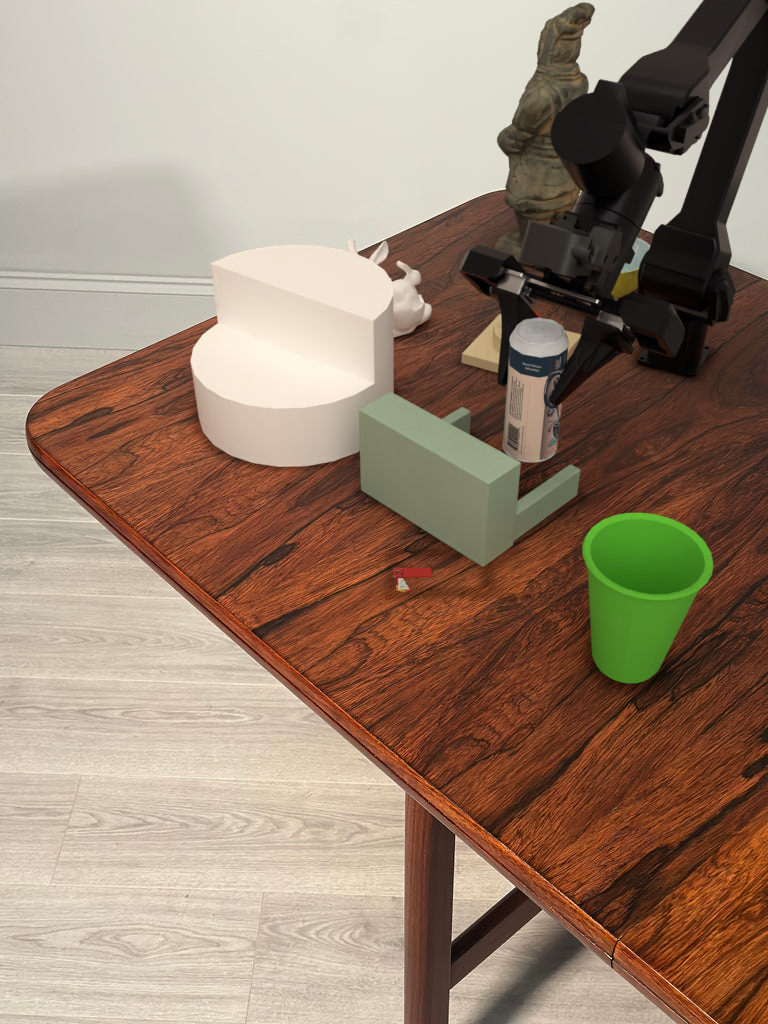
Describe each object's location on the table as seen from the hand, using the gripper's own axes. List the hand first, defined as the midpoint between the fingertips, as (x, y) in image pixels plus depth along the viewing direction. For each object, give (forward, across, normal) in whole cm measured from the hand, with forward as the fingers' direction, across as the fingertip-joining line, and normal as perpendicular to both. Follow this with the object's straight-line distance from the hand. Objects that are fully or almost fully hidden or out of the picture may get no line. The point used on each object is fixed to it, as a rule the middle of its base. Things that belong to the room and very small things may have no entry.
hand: (526, 394), depth 86 cm
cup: (+16, +16, +2) cm, 23 cm away
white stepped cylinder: (+8, -27, +10) cm, 30 cm away
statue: (-23, -26, +42) cm, 55 cm away
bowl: (-19, -13, +38) cm, 44 cm away
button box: (-8, -14, +26) cm, 30 cm away
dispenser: (+9, -5, +9) cm, 13 cm away
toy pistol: (+17, -1, +2) cm, 17 cm away
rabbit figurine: (-4, -30, +23) cm, 38 cm away
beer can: (+4, 0, +6) cm, 7 cm away
